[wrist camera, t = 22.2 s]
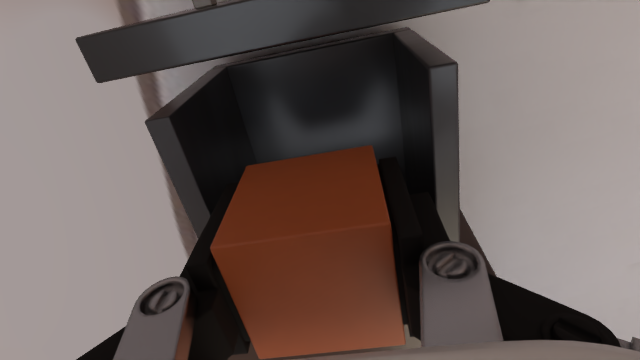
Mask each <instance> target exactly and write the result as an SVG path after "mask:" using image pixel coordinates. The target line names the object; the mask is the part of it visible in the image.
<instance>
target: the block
mask: <svg viewBox="0 0 640 360" xmlns="http://www.w3.org/2000/svg"><path fill="white" fill-rule="evenodd" d="M210 250H211V252H212V255H213V257H214V259H215V261H216V264H217V266H218V268H219V270H220V272H221V275H222V277H223V279H224V281H225V284H226V286H227V288H228V290H229V293H230V295H231V297H232V299H233V302H234V304H235V306H236V308H237V311H238V313H239V315H240V317H241V320H242V322H243V324H244V326H245V329H246V331H247V333H248V335H249V337H250V340H251V342H252V344H253V346H254V349H255V351H256V353H257V355H258V358H259V359H266V358H276V357H286V356H297V355H307V354H317V353H327V352H337V351H347V350H357V349H367V348H378V347H388V346H398V345H405V343H406V340H405V332H404V325H403V321H402V313H401V305H400V298H399V290H398V282H397V274H396V266H395V258H394V251H393V237H392V229H391V222H390V218H389V214H388V210H387V205H386V201H385V197H384V193H383V188H382V184H381V180H380V176H379V171H378V167H377V163H376V158H375V154H374V150H373V146H372V145H368V146H362V147H356V148H350V149H344V150H338V151H332V152H326V153H320V154H314V155H308V156H302V157H296V158H290V159H284V160H278V161H272V162H266V163H260V164H254V165H248V166H246V168H245V171H244V173H243V175H242V177H241V180H240V182H239V184H238V186H237V189H236V191H235V193H234V195H233V197H232V200H231V202H230V204H229V206H228V209H227V211H226V213H225V215H224V218H223V220H222V222H221V224H220V226H219V229H218V231H217V233H216V235H215V238H214V240H213V242H212V244H211V247H210Z"/></svg>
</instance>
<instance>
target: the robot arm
mask: <svg viewBox="0 0 640 360" xmlns="http://www.w3.org/2000/svg"><path fill="white" fill-rule="evenodd" d="M377 167H378V171H379V176H380V180H381V184H382V188H383V193H384V197H385V201H386V205H387V210H388V214H389V218H390V222H391V229H392V237H393V251H394V258H395V266H396V274H397V282H398V290H399V298H400V305H401V313H402V321H403V325H408V329H409V334H410V337H415V338H417V339H418V340H420V341H421V348H410V349H399V350H388V351H377V352H366V353H356V354H345V355H334V356H323V357H312V358H302V359H292V360H640V339H638V338H634V337H632V340H631V342H628V341H624V340H621V339H618V338H616V337H615V335H614V334H613V333H612V332H611V330H609V329H608V328H607V327H606V326H604V325H603V324H602V323H601V322H599V321H597V320H596V319H594V318H592V317H590V316H588V315H586V314H584V313H581V312H579V311H576V310H574V309H572V308H569V307H567V306H565V305H562V304H560V303H558V302H555V301H553V300H550V299H548V298H546V297H543V296H541V295H539V294H536V293H534V292H531V291H529V290H527V289H524V288H522V287H520V286H517V285H515V284H513V283H510V282H508V281H505V280H503V279H501V278H498V277H496V276H494V275H491V274H489V273H487V269H486V265H485V261H484V259H483V257H482V255H481V254H480V253H479V252H478V251H477V250H476V249H475V248H473V247H471V246H469V245H468V244H464V243H461V242H455V241H450V239H449V237H448V235H447V232H446V230H445V228H444V226H443V223H442V221H441V219H440V217H439V214H438V212H437V210H436V207H435V205H434V203H433V201H432V198H431V196H430V194H429V192H423V193H416V194H409V193H408V190H407V187H406V184H405V181H404V178H403V175H402V172H401V169H400V167H399V164H398V161H397V158H396V156H395V157H389V158H383V159H379V164H377ZM238 184H239V182H235V183H229V184H227V185H226V187H225V188H224V190H223V192H222V194H221V196H220V198H219V200H218V202H217V204H216V206H215V208H214V210H213V212H212V214H211V216H210V218H209V220H208V222H207V224H206V226H205V228H204V229H203V231H202V233H201V235H200V237H199V239H198V241H197V243H196V245H195V247H194V249H193V251H192V253H191V255H190V257H189V259H188V261H187V263H186V265H185V267H184V269H183V271H182V273H181V275H180V277H170V278H167V279H163V280H161V281H159V282H157V283H155V284H153V285H151V286H150V287H149V288H148V289H146V290H145V291H144V292H143V293H142V294H141V295H140V296H139V298H138V299H137V301H136V303H135V305H134V307H133V310H132V313H131V315H130V317H129V320H128V322H127V325H126V327H124V328H122V329H121V330H120V331H118V332H117V333H115V334H114V335H112V336H111V337H109V338H108V339H106V340H105V341H103V342H102V343H100V344H99V345H97V346H96V347H94V348H93V349H92V350H90V351H88V352H87V353H85V354H84V355H82V356H81V357H79V358H78V359H77V360H228V358H229V357H230V356H231V355H238V354H248V351H249V347H250V342H251V340H250V337H249V335H248V333H247V331H246V329H245V326H244V324H243V322H242V320H241V317H240V315H239V313H238V311H237V308H236V306H235V304H234V302H233V299H232V297H231V295H230V293H229V290H228V288H227V286H226V284H225V281H224V279H223V277H222V275H221V272H220V270H219V268H218V266H217V264H216V261H215V259H214V257H213V255H212V252H211V250H210V247H211V244H212V242H213V240H214V238H215V235H216V233H217V231H218V229H219V226H220V224H221V222H222V220H223V218H224V215H225V213H226V211H227V209H228V206H229V204H230V202H231V200H232V197H233V195H234V193H235V191H236V189H237V186H238Z"/></svg>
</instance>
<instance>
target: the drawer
mask: <svg viewBox="0 0 640 360" xmlns="http://www.w3.org/2000/svg"><path fill="white" fill-rule="evenodd" d="M192 1H193V4H194V7H195V8H194V9H190V10H185V11H181V12H177V13H173V14H169V15H165V16H161V17H157V18H153V19H149V20H145V21H141V22H137V23H133V24H129V25H125V26H121V27H118V28H113V29H109V30H105V31H101V32H97V33H93V34H89V35H85V36H81V37H77V38H76V42H77V44H78V46H79V48H80V50H81V52H82V54H83V56H84V58H85V60H86V62H87V64H88V66H89V68H90V70H91V72H92V74H93V76H94V78H95V80H96V82H97V83H103V82H107V81H112V80H117V79H122V78H127V77H131V76H136V75H141V74H146V73H151V72H156V71H161V70H165V69H170V68H175V67H180V66H185V65H190V64H194V63H199V62H204V61H209V60H214V59H219V58H223V57H228V56H233V55H238V54H243V53H248V52H252V51H257V50H262V49H267V48H272V47H277V46H281V45H286V44H291V43H296V42H301V41H306V40H310V39H315V38H320V37H325V36H330V35H335V34H339V33H344V32H349V31H354V30H359V29H364V28H368V27H373V26H378V25H383V24H388V23H393V22H397V21H402V20H407V19H412V18H417V17H422V16H426V15H431V14H436V13H441V12H446V11H450V10H455V9H460V8H465V7H470V6H475V5H479V4H484V3H488V2H489V1H490V0H229V1H225V2H220V3H217V0H192ZM145 124H146V126H147V128H148V130H149V132H150V135H151V137H152V139H153V141H154V143H155V146H156V148H157V150H158V152H159V154H160V156H161V159H162V161H163V163H164V165H165V167H166V169H167V172H168V174H169V176H170V178H171V180H172V182H173V185H174V187H175V189H176V191H177V193H178V196H179V198H180V200H181V202H182V204H183V206H184V209H185V211H186V213H187V215H188V217H189V219H190V222H191V224H192V226H193V228H194V230H195V233H196V235H197V237H198V239H199V237H200V235H201V233H202V231H203V229H204V228H205V226H206V224H207V222H208V220H209V218H210V216H211V214H212V212H213V210H214V208H215V206H216V204H217V202H218V200H219V198H220V196H221V194H222V192H223V190H224V188H225V187H226V185H227V184H229V183H235V182H240V180H241V177H242V175H243V173H244V171H245V168H246V166H248V165H254V164H260V163H266V162H272V161H278V160H284V159H290V158H296V157H302V156H308V155H314V154H320V153H326V152H332V151H338V150H344V149H350V148H356V147H362V146H368V145H372V146H373V150H374V154H375V158H376V163H377V164H379V159H383V158H389V157H395V156H396V158H397V161H398V164H399V167H400V169H401V172H402V175H403V178H404V181H405V184H406V187H407V190H408V193H409V194H416V193H423V192H429V194H430V196H431V198H432V201H433V203H434V205H435V207H436V210H437V212H438V214H439V217H440V219H441V221H442V223H443V226H444V228H445V230H446V232H447V235H448V237H449V239H450V241H455V242H460V202H459V114H458V63H457V62H456V61H455V60H453V59H452V58H450V57H449V56H448V55H446V54H445V53H443V52H442V51H441V50H439V49H438V48H436V47H435V46H434V45H432V44H431V43H429V42H428V41H427V40H425V39H424V38H422V37H421V36H420V35H418V34H417V33H415V32H414V31H413V30H411V29H410V28H408V27H405V28H400V29H395V30H390V31H385V32H380V33H375V34H370V35H366V36H361V37H356V38H351V39H346V40H341V41H336V42H331V43H326V44H322V45H317V46H312V47H307V48H302V49H297V50H292V51H287V52H282V53H278V54H273V55H268V56H263V57H258V58H253V59H248V60H243V61H238V62H233V63H229V64H224V65H219V66H215V67H214V68H213V69H211V70H210V71H208V72H207V73H206V74H204V75H203V76H202V77H201V78H199V79H198V80H197V81H196V82H194V83H193V84H192V85H190V86H189V87H188V88H187V89H185V90H184V91H183V92H182V93H180V94H179V95H178V96H176V97H175V98H174V99H173V100H171V101H170V102H169V103H168V104H166V105H165V106H164V107H162V108H161V109H160V110H159V111H157V112H156V113H155V114H154V115H152V116H151V117H150V118H148V119H147V120H146V121H145Z"/></svg>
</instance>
